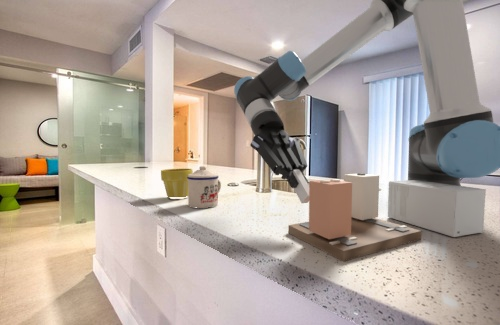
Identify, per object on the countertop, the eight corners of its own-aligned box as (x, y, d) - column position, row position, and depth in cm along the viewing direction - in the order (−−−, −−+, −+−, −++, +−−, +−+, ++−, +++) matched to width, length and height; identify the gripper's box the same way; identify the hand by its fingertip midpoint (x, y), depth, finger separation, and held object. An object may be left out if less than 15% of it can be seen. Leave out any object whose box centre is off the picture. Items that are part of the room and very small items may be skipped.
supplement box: (413, 214, 63) (484, 234, 49) (386, 217, 61) (453, 239, 46) (415, 179, 63) (488, 188, 49) (388, 180, 60) (456, 191, 46)
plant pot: (155, 198, 84) (154, 169, 83) (179, 194, 92) (179, 167, 92) (175, 202, 78) (174, 171, 77) (199, 197, 86) (199, 169, 86)
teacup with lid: (203, 210, 68) (202, 167, 67) (181, 206, 73) (180, 166, 72) (231, 202, 77) (230, 165, 77) (209, 199, 83) (209, 164, 82)
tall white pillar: (358, 211, 58) (359, 172, 57) (377, 217, 54) (379, 174, 53) (342, 214, 56) (343, 173, 55) (362, 220, 51) (363, 175, 51)
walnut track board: (357, 219, 59) (358, 212, 59) (421, 239, 46) (421, 229, 46) (288, 232, 50) (288, 224, 50) (343, 261, 37) (343, 249, 37)
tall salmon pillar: (329, 226, 47) (330, 177, 47) (350, 234, 43) (352, 180, 42) (308, 230, 45) (309, 179, 44) (329, 239, 41) (330, 182, 40)
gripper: (279, 133, 68) (322, 206, 54) (236, 131, 62) (272, 213, 48) (291, 111, 63) (342, 185, 49) (245, 107, 57) (289, 190, 43)
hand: (307, 199), depth 49 cm, fingers closed
